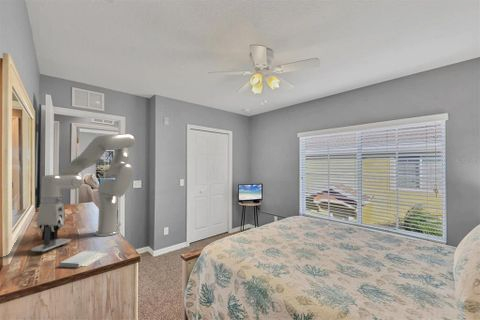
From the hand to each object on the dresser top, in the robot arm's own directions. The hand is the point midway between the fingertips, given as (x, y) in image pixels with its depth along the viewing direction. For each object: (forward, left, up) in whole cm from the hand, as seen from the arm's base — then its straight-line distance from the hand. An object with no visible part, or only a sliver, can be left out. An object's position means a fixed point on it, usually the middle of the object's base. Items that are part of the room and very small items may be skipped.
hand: (49, 238), depth 104 cm
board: (+8, +25, -5) cm, 27 cm away
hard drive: (+10, +25, -5) cm, 27 cm away
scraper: (0, +1, -3) cm, 3 cm away
